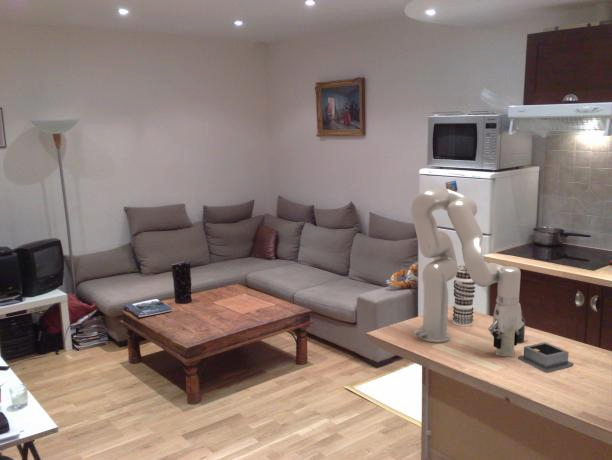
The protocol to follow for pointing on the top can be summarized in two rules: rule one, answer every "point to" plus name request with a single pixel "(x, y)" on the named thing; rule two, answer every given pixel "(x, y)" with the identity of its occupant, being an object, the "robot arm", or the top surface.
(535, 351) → the socket
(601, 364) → the top surface
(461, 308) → the decorative candle
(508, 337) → the skincare box
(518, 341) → the supplement bottle
